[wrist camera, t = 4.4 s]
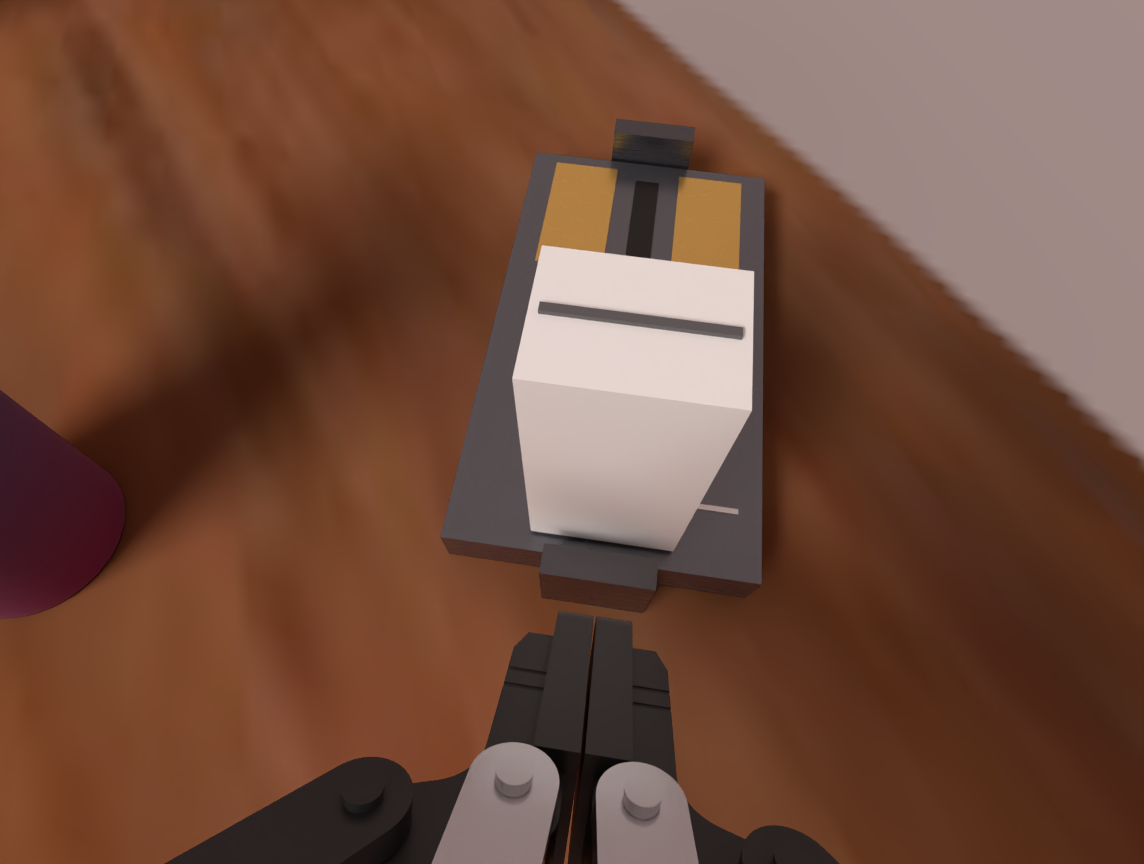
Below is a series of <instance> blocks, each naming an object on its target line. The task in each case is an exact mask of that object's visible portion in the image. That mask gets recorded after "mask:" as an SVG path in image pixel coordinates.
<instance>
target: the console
mask: <svg viewBox="0 0 1144 864" xmlns="http://www.w3.org/2000/svg"><path fill="white" fill-rule="evenodd" d="M694 130H695V128H694V127H685V126H677V125H668V124H659V123H650V122H641V121H632V120H623V119H617V120H616V126H615V132H614V142H613V153H612V161H608V160H599V159H590V158H582V157H573V156H565V155H556V154H547V153H539V152H537V153H536V157H535V161H534V165H533V169H532V173H531V177H530V181H529V185H528V189H527V193H526V197H525V201H524V205H523V209H522V213H521V217H520V221H519V225H518V229H517V233H516V237H515V241H514V245H513V249H512V253H511V257H510V261H509V265H508V269H507V273H506V277H505V281H504V285H503V289H502V293H501V297H500V301H499V305H498V309H497V313H496V317H495V321H494V325H493V329H492V333H491V337H490V341H489V345H488V349H487V353H486V357H485V361H484V365H483V369H482V373H481V377H480V381H479V385H478V389H477V393H476V397H475V401H474V405H473V409H472V413H471V417H470V421H469V425H468V429H467V433H466V437H465V441H464V445H463V449H462V453H461V457H460V461H459V465H458V469H457V473H456V477H455V481H454V485H453V489H452V493H451V497H450V501H449V505H448V509H447V513H446V517H445V521H444V525H443V529H442V533H441V539H442V541H443V543H444V545H445V547H446V548H447V550H448V552H449V553H450V554H457V555H464V556H470V557H477V558H484V559H491V560H497V561H504V562H511V563H517V564H524V565H531V566H538V567H540V571H539V577H540V586H541V596H542V598H547V599H554V600H561V601H567V602H574V603H580V604H587V605H594V606H600V607H607V608H613V609H620V610H627V611H633V612H640V613H643V612H644V610H645V608H646V607H647V605H648V603H649V602H650V600H651V598H652V597H653V595H654V593H655V591H656V585H657V584H659V585H665V586H672V587H679V588H685V589H692V590H699V591H706V592H712V593H719V594H726V595H732V596H739V597H747V596H749V595H750V594H751V593H752V592H753V591H755V590H756V589H757V588H758V587H759V586H760V585H762V458H763V313H764V179H762V178H754V177H745V176H737V175H728V174H719V173H711V172H702V171H694V170H687V169H688V165H689V160H690V156H691V151H692V146H693V142H694ZM542 245H544V246H552V247H560V248H569V249H577V250H585V251H593V252H601V253H609V254H617V255H625V256H633V257H641V258H649V259H658V260H666V261H674V262H682V263H690V264H698V265H706V266H714V267H722V268H730V269H739V270H747V271H754V313H753V375H752V411H751V413H750V415H749V417H748V419H747V420H746V422H745V424H744V426H743V428H742V429H741V431H740V433H739V435H738V436H737V438H736V440H735V442H734V444H733V445H732V447H731V449H730V451H729V453H728V454H727V456H726V458H725V460H724V462H723V463H722V465H721V467H720V469H719V470H718V472H717V474H716V476H715V478H714V479H713V481H712V483H711V485H710V487H709V488H708V490H707V492H706V494H705V496H704V497H703V499H702V501H701V503H700V504H699V506H698V508H697V510H696V512H695V513H694V515H693V517H692V519H691V521H690V522H689V524H688V526H687V528H686V530H685V531H684V533H683V535H682V537H681V538H680V540H679V542H678V544H677V546H676V547H675V549H674V551H666V550H660V549H653V548H646V547H639V546H632V545H625V544H618V543H612V542H605V541H598V540H591V539H584V538H577V537H571V536H564V535H557V534H550V533H543V532H536V531H531V528H530V520H529V512H528V504H527V495H526V487H525V479H524V471H523V463H522V455H521V446H520V438H519V430H518V422H517V414H516V406H515V397H514V389H513V381H512V377H513V373H514V368H515V364H516V359H517V355H518V350H519V346H520V341H521V337H522V332H523V328H524V323H525V319H526V314H527V310H528V305H529V301H530V296H531V292H532V287H533V283H534V278H535V274H536V269H537V265H538V260H539V256H540V251H541V247H542Z"/></svg>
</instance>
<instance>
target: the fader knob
mask: <svg viewBox="0 0 1144 864" xmlns="http://www.w3.org/2000/svg"><path fill="white" fill-rule="evenodd" d="M753 313H754V271H747V270H739V269H730V268H722V267H714V266H706V265H698V264H690V263H682V262H674V261H666V260H658V259H649V258H641V257H633V256H625V255H617V254H609V253H601V252H593V251H585V250H577V249H569V248H560V247H552V246H544V245H542V247H541V251H540V256H539V260H538V265H537V269H536V274H535V278H534V283H533V287H532V292H531V296H530V301H529V305H528V310H527V314H526V319H525V323H524V328H523V332H522V337H521V341H520V346H519V350H518V355H517V359H516V364H515V368H514V373H513V377H512V381H513V389H514V397H515V406H516V414H517V422H518V430H519V438H520V446H521V455H522V463H523V471H524V479H525V487H526V495H527V504H528V512H529V520H530V528H531V531H536V532H543V533H550V534H557V535H564V536H571V537H577V538H584V539H591V540H598V541H605V542H612V543H618V544H625V545H632V546H639V547H646V548H653V549H660V550H666V551H674V549H675V547H676V546H677V544H678V542H679V540H680V538H681V537H682V535H683V533H684V531H685V530H686V528H687V526H688V524H689V522H690V521H691V519H692V517H693V515H694V513H695V512H696V510H697V508H698V506H699V504H700V503H701V501H702V499H703V497H704V496H705V494H706V492H707V490H708V488H709V487H710V485H711V483H712V481H713V479H714V478H715V476H716V474H717V472H718V470H719V469H720V467H721V465H722V463H723V462H724V460H725V458H726V456H727V454H728V453H729V451H730V449H731V447H732V445H733V444H734V442H735V440H736V438H737V436H738V435H739V433H740V431H741V429H742V428H743V426H744V424H745V422H746V420H747V419H748V417H749V415H750V413H751V411H752V375H753Z"/></svg>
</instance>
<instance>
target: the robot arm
mask: <svg viewBox="0 0 1144 864" xmlns="http://www.w3.org/2000/svg"><path fill="white" fill-rule="evenodd" d="M593 618H594V616H589V615H583V614H576V613H570V612H563V611H559V612H558V617H557V622H556V627H555V632H554V636H550V635H543V634H537V633H530V632H529V633H528V634H527V635H526V636H525V637H524V638H523V639H522V640H521V641H520V642H519V643H518V644H517V645H516V646H515V647H514V649H513V652H512V656H511V660H510V663H509V667H508V670H507V674H506V677H505V681H504V686H503V688H502V691H501V695H500V699H499V702H498V706H497V709H496V713H495V716H494V720H493V723H492V727H491V731H490V734H489V738H488V741H487V745H486V747H485V750H484V751H483V752H482V753H480V754H479V755H478V756H477V757H476V759H475V760H474V761H473V763H472V765H471V766H470V768H468V769H467V770H465V771H463V772H462V773H460V774H457V775H455V776H452V777H449V778H446V779H441V780H435V781H427V782H419V783H412V781H411V778H410V776H409V774H408V773H407V772H406V770H405V769H404V768H403V767H402V766H400V765H399V764H397V763H396V762H394V761H391V760H389V759H385V758H380V757H363V758H358V759H354V760H351V761H348V762H346V763H344V764H341V765H339V766H338V767H336V768H334V769H332V770H330V771H329V772H327V773H325V774H323V775H322V776H320V777H318V778H316V779H314V780H313V781H311V782H309V783H307V784H305V785H304V786H302V787H300V788H298V789H297V790H295V791H293V792H291V793H289V794H288V795H286V796H284V797H282V798H281V799H279V800H277V801H275V802H273V803H272V804H270V805H268V806H266V807H265V808H263V809H261V810H259V811H257V812H256V813H254V814H252V815H250V816H249V817H247V818H245V819H243V820H241V821H240V822H238V823H236V824H234V825H233V826H231V827H229V828H227V829H225V830H224V831H222V832H220V833H218V834H216V835H215V836H213V837H211V838H209V839H208V840H206V841H204V842H202V843H200V844H199V845H197V846H195V847H193V848H192V849H190V850H188V851H186V852H184V853H183V854H181V855H179V856H177V857H176V858H174V859H172V860H170V861H168V862H167V863H165V864H564V858H565V851H566V845H567V838H568V832H569V825H570V819H571V812H572V805H573V799H574V805H573V815H572V825H571V835H570V845H569V855H568V864H839V863H838V862H837V861H836V860H835V859H834V858H833V857H832V856H831V855H830V854H829V853H828V852H827V851H826V850H825V849H824V848H823V847H821V846H820V845H819V844H818V843H817V842H815V841H814V840H813V839H811V838H810V837H808V836H806V835H805V834H803V833H801V832H799V831H796V830H794V829H791V828H787V827H784V826H776V825H773V826H764V827H760V828H758V829H756V830H754V831H753V832H752V833H750V834H749V836H748V837H747V838H746V840H745V839H743V838H741V837H739V836H737V835H735V834H733V833H731V832H728V831H726V830H724V829H722V828H720V827H718V826H716V825H714V824H712V823H711V822H709V821H708V820H706V819H705V818H703V817H702V816H701V815H700V814H699V813H697V812H696V811H695V810H694V809H693V808H692V806H691V805H690V804H689V803H688V802H687V800H686V797H685V795H684V792H683V790H682V789H681V787H680V786H679V785H678V781H677V776H676V765H675V753H674V741H673V729H672V717H671V712H670V709H671V706H670V695H669V682H668V671H667V669H666V668H665V666H664V664H663V663H662V661H661V660H660V658H659V656H658V655H657V653H656V652H654V651H648V650H641V649H635V648H632V622H630V621H623V620H616V619H610V618H603V617H596V622H595V629H594V635H593V642H592V649H591V639H592V628H593ZM590 649H591V655H590ZM589 660H590V662H589ZM574 792H575V795H574Z"/></svg>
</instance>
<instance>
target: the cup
mask: <svg viewBox="0 0 1144 864" xmlns="http://www.w3.org/2000/svg"><path fill="white" fill-rule="evenodd" d="M125 512H126V510H125V502H124V496H123V494H122V491H121V489H120V486H119V484H118V483H117V482H116V480H115V479H114V478H113V477H112V475H111V474H109V473H108V472H107V471H105V470H104V469H103V468H102V467H100V466H99V465H98V464H96V463H95V462H94V461H92V460H91V459H90V458H88V457H87V456H86V455H84V454H83V453H82V452H81V451H79V450H78V449H77V448H75V447H74V446H73V445H71V444H70V443H69V442H67V441H66V440H65V439H64V438H62V437H61V436H60V435H58V434H57V433H56V432H54V431H53V430H52V429H50V428H49V427H48V426H47V425H45V424H44V423H43V422H41V421H40V420H39V419H37V418H36V417H35V416H33V415H32V414H31V413H29V412H28V411H27V410H26V409H24V408H23V407H22V406H20V405H19V404H18V403H16V402H15V401H14V400H12V399H11V398H10V397H9V396H7V395H6V394H5V393H3V392H2V391H1V390H0V618H18V617H23V616H28V615H33V614H36V613H38V612H41V611H44V610H46V609H49V608H52V607H54V606H56V605H57V604H59V603H61V602H63V601H65V600H66V599H68V598H70V597H71V596H73V595H74V594H75V593H77V592H78V591H79V590H81V589H82V588H83V587H85V586H86V585H87V584H88V583H89V582H90V581H91V580H92V579H93V578H94V577H95V576H96V575H97V574H98V573H99V572H100V571H101V569H102V568H103V567H104V565H105V564H106V563H107V561H108V560H109V559H110V557H111V556H112V554H113V552H114V550H115V548H116V546H117V544H118V542H119V540H120V537H121V534H122V531H123V528H124V522H125Z"/></svg>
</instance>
